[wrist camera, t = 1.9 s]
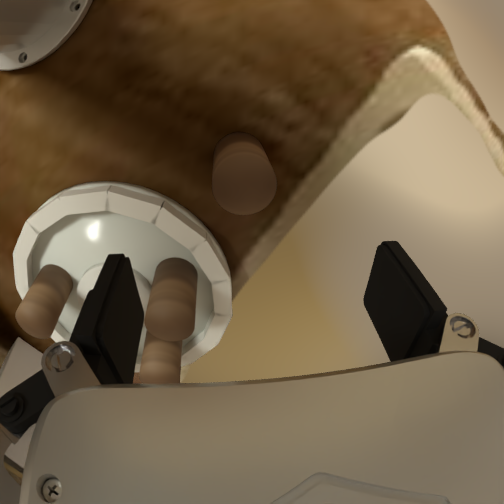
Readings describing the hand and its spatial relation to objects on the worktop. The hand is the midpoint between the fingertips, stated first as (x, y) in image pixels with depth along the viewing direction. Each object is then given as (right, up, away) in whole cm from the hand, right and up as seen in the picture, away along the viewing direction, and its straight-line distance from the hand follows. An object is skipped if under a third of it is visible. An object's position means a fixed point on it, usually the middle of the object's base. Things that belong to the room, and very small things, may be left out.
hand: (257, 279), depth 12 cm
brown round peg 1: (-7, -1, +16) cm, 17 cm away
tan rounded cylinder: (-1, +8, +12) cm, 14 cm away
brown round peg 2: (-9, -7, +20) cm, 23 cm away
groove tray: (-13, -2, +18) cm, 22 cm away
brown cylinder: (-19, -2, +15) cm, 24 cm away
